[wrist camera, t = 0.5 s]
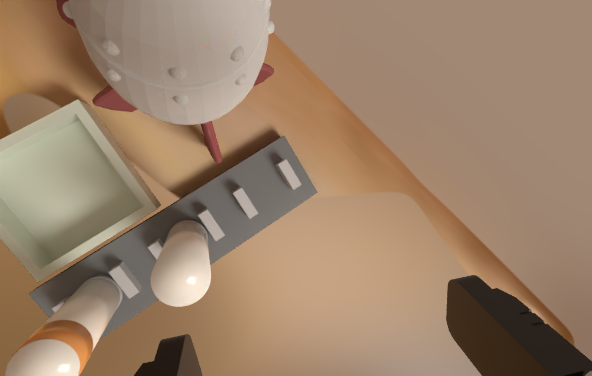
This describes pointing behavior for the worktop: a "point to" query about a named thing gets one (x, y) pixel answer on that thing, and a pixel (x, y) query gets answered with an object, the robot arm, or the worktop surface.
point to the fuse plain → (182, 265)
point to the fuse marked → (69, 332)
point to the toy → (175, 55)
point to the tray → (66, 189)
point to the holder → (198, 206)
